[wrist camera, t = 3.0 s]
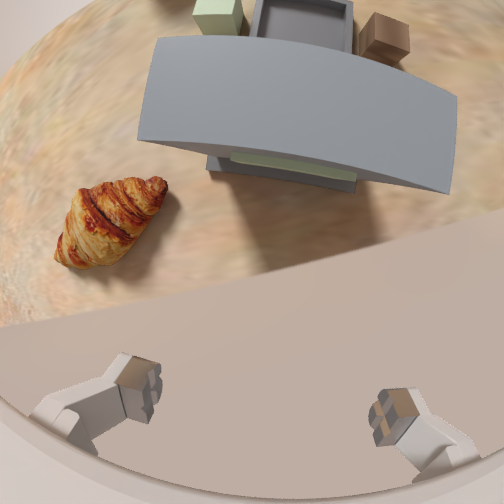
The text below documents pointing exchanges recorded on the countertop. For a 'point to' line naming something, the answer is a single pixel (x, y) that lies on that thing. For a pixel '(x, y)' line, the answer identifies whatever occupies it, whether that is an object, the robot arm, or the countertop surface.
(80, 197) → the croissant
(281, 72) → the grey unit
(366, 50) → the walnut block
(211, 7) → the sage block
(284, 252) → the countertop surface
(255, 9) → the charcoal tray
